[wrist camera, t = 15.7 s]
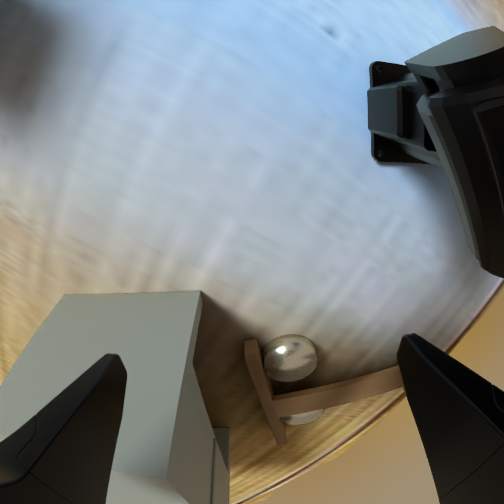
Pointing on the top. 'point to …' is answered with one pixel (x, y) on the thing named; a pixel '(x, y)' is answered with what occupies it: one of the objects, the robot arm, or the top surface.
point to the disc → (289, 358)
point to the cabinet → (131, 391)
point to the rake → (312, 391)
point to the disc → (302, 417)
